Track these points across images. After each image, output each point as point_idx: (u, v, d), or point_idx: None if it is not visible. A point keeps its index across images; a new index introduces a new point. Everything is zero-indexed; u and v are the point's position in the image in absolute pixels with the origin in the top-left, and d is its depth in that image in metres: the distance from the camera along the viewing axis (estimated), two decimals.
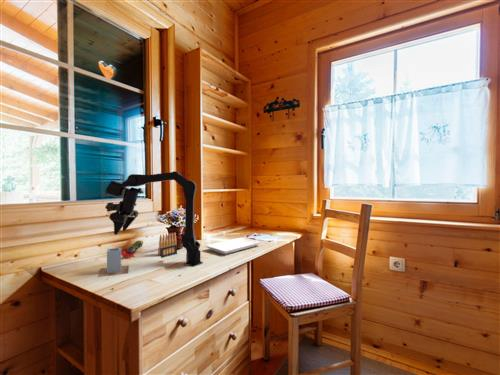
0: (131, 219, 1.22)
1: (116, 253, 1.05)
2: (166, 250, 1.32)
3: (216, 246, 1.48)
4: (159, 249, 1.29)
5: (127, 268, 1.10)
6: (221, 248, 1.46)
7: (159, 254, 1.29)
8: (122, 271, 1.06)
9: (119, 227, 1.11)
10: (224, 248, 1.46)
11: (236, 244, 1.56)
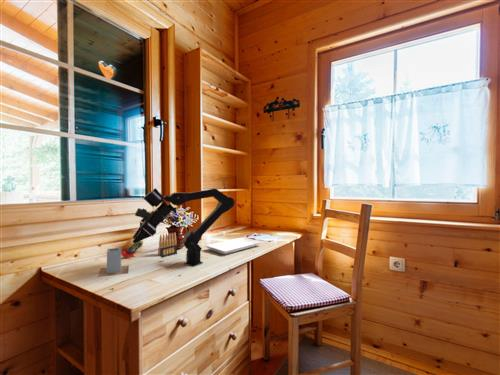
0: None
1: (116, 253, 1.05)
2: (166, 250, 1.32)
3: (216, 246, 1.48)
4: (159, 249, 1.29)
5: (127, 268, 1.10)
6: (221, 248, 1.46)
7: (159, 254, 1.29)
8: (122, 271, 1.06)
9: (142, 238, 1.06)
10: (224, 248, 1.46)
11: (236, 244, 1.56)
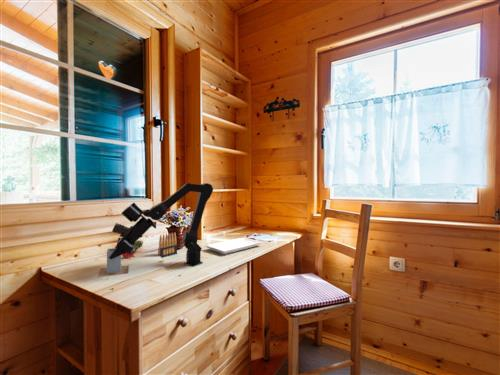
0: None
1: None
2: (166, 250, 1.32)
3: (216, 246, 1.48)
4: (159, 249, 1.29)
5: (127, 268, 1.10)
6: (221, 248, 1.46)
7: (159, 254, 1.29)
8: (122, 271, 1.06)
9: (119, 254, 1.04)
10: (224, 248, 1.46)
11: (237, 244, 1.56)
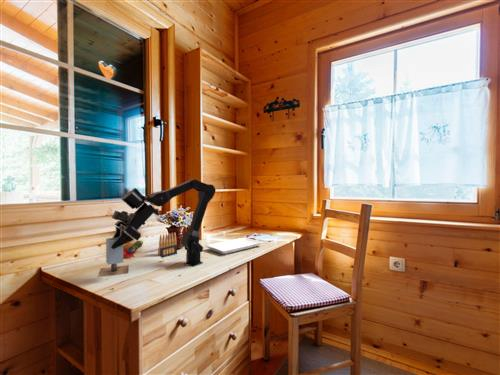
0: None
1: None
2: (166, 250, 1.32)
3: (216, 246, 1.48)
4: (159, 249, 1.29)
5: (127, 268, 1.10)
6: (221, 248, 1.46)
7: (159, 254, 1.29)
8: (122, 271, 1.06)
9: (123, 242, 0.96)
10: (224, 248, 1.46)
11: (237, 244, 1.56)
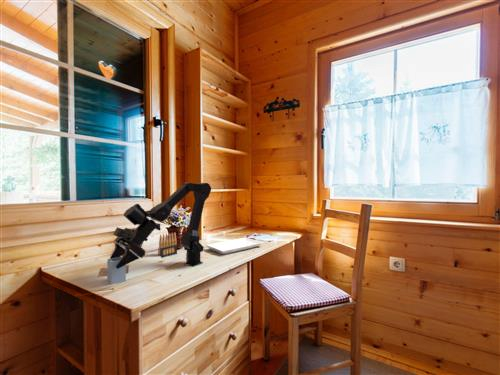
0: (124, 251, 1.02)
1: None
2: (166, 250, 1.32)
3: (217, 246, 1.48)
4: (159, 249, 1.29)
5: (127, 268, 1.10)
6: (221, 248, 1.46)
7: (159, 254, 1.29)
8: None
9: (128, 261, 0.93)
10: (224, 248, 1.46)
11: (238, 244, 1.55)
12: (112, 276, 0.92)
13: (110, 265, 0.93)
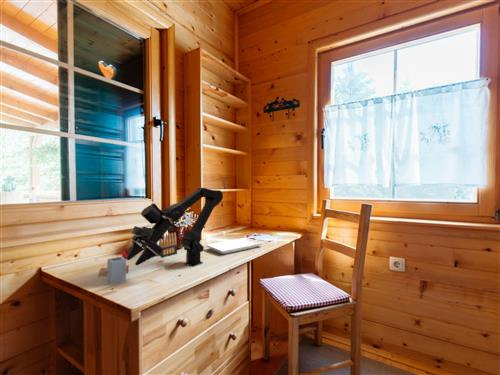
0: (140, 249, 1.07)
1: (121, 263, 0.94)
2: (166, 250, 1.32)
3: (217, 246, 1.48)
4: None
5: (127, 268, 1.10)
6: (221, 248, 1.46)
7: None
8: None
9: (146, 258, 0.98)
10: (224, 248, 1.46)
11: (238, 244, 1.55)
12: (112, 276, 0.92)
13: (110, 265, 0.93)
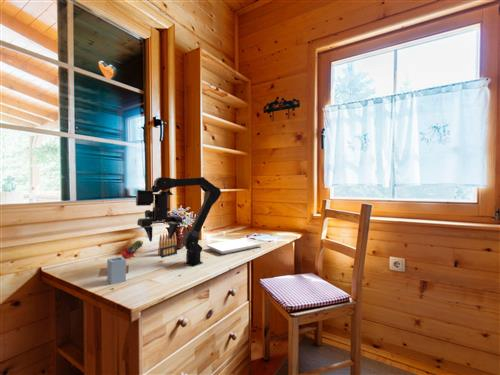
0: (173, 225, 1.15)
1: (121, 263, 0.94)
2: (166, 250, 1.32)
3: (217, 246, 1.49)
4: (159, 249, 1.29)
5: (127, 268, 1.10)
6: (221, 248, 1.46)
7: (159, 254, 1.29)
8: None
9: (148, 233, 1.07)
10: (224, 248, 1.46)
11: (238, 244, 1.55)
12: (112, 276, 0.92)
13: (110, 265, 0.93)
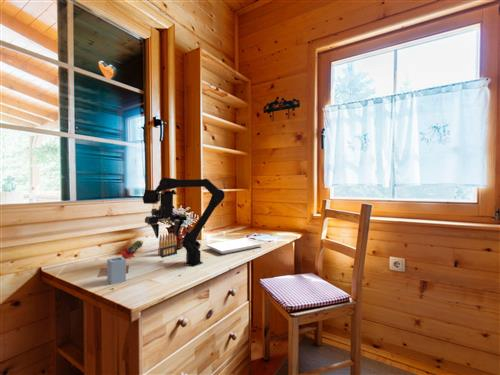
0: (178, 223, 1.22)
1: (121, 263, 0.94)
2: (166, 250, 1.32)
3: (217, 246, 1.49)
4: (159, 249, 1.29)
5: (127, 268, 1.10)
6: (221, 248, 1.46)
7: (159, 254, 1.29)
8: None
9: (155, 230, 1.15)
10: (224, 248, 1.46)
11: (238, 244, 1.55)
12: (112, 276, 0.92)
13: (110, 265, 0.93)
